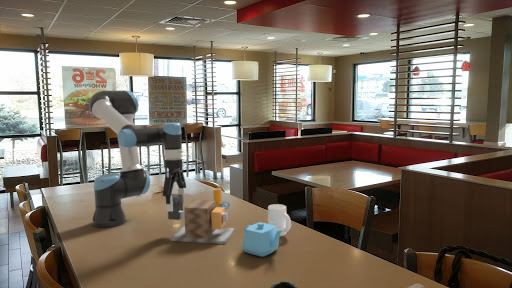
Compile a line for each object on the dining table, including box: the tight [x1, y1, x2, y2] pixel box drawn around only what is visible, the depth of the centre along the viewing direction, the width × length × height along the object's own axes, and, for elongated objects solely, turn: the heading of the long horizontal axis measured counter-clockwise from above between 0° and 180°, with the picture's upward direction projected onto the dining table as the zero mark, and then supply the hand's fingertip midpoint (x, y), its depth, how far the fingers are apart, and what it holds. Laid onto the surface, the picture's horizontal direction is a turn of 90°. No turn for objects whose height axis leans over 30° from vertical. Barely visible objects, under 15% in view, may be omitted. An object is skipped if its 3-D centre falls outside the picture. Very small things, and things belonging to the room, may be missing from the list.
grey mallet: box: [167, 193, 229, 222], centre depth 163 cm, size 26×5×10 cm, turn 80°
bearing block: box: [169, 199, 235, 245], centre depth 164 cm, size 24×16×14 cm, turn 80°
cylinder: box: [210, 187, 230, 212], centre depth 186 cm, size 12×10×15 cm
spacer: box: [211, 206, 226, 230], centre depth 162 cm, size 4×7×7 cm, turn 170°
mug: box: [267, 203, 292, 237], centre depth 164 cm, size 8×12×12 cm
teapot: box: [242, 221, 284, 258], centre depth 145 cm, size 12×18×12 cm
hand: (175, 206), depth 165 cm, fingers open, 13 cm apart
